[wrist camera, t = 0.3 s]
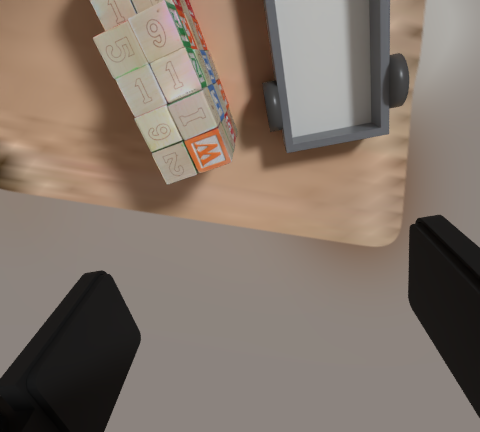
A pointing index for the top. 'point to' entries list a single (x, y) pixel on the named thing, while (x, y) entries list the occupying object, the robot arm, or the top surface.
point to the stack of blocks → (168, 83)
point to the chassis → (331, 71)
